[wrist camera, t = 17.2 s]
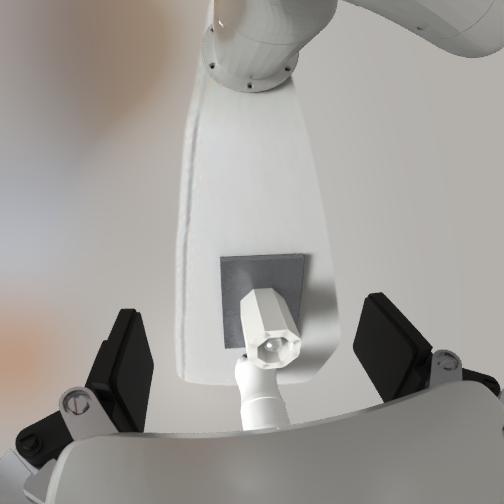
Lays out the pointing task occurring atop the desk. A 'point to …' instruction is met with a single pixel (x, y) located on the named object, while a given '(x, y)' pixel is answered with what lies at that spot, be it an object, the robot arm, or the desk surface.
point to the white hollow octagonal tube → (268, 328)
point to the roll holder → (258, 277)
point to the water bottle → (259, 397)
